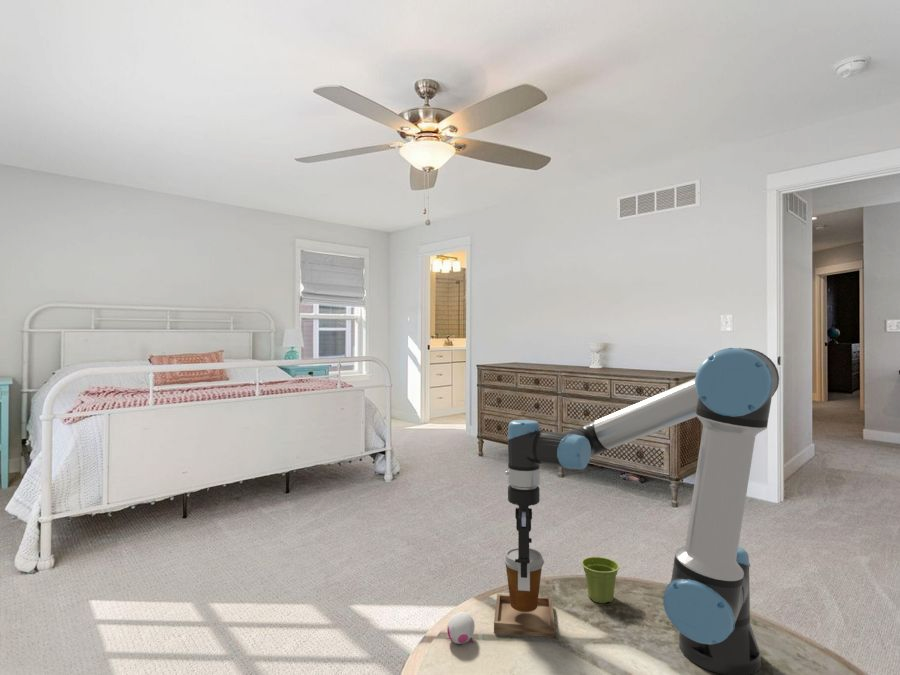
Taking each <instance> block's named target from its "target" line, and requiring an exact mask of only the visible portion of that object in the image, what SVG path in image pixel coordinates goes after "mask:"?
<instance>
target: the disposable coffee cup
mask: <svg viewBox="0 0 900 675" xmlns="http://www.w3.org/2000/svg"><path fill="white" fill-rule="evenodd" d="M515 559H518V547H514V548H509V549H508V550H507V551H505V556H504V557H503V561H504V562H503V563H504V564H505V567H506V577H507V585H508V593H509V595H510V604H511V607H512V608H513V609H515V610H517V611H521V612H530V611H534V610H535V609H536V608H537V603H538V597H539V595H540V594H539V592H540V585H541V577H542V568H543V565H544V563H545V560H544V558H543V555H542V553H541V552H540V551H539V550H536V549H533V548H530V547H529V559H530V591H521V590H518V562H515Z"/></svg>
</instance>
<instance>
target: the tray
mask: <svg viewBox="0 0 900 675" xmlns="http://www.w3.org/2000/svg"><path fill="white" fill-rule="evenodd" d="M494 608H495V611H494V618H493V620H494V621H493V633H495V634H496V633H497V634H507V635H509V634H510V635H520V636H521V635H522V636H532V637H533V636H534V637H546V638H556V624H555V616H554V605H553V598H552V597H549V596H548V597H547V596H538V603H537V608H536V609H535V610H534V611H530V612H521V611H517V610H515V609H513V608H512V607H511V604H510V595H509V594H506V593H497V594H496V601H495V607H494Z"/></svg>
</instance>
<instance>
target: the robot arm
mask: <svg viewBox="0 0 900 675" xmlns="http://www.w3.org/2000/svg"><path fill="white" fill-rule="evenodd" d="M779 374H780V373H779V371H778V368H777V366H776V364H775V363H774V362H773V361H772V359H771V358H770V357H768V356H767V355H766V354H765V353H763V352H761V351H758V350H756V349H751V348H742V347H729V348H724V349H720V350H718V351H715V352H713V353H712V354H710V355H709V356H708V357H707V358H705V359H704V360H703V361H702V362H701V364H700V365H699V367H698V369H697V372H696V374H695V377H694V378H692V379H690V380H688V381H686V382H683V383H681V384H678V385H675V386H674V387H671V388H669V389H666V390H664V391H662V392H659V393H657V394H655V395H653V396H650V397H648V398H645V399H643V400H641V401H638V402H636V403H634V404H631V405H629V406H626V407H623V408H622V409H619V410H617V411H614V412H612V413H609V414H607V415H605V416H603V417H601V418H599V419H596V420H594V421H591V422H588V423H586V424H584V425H581V426H579V427H576V428H573V429H569V430H566V431H562V432H553V431H544V430H541V428H540V423H539V422H538V421H536V420H532V419H514V420H512V421H510V422H509V423H508V428H507V429H508V430H507V437H506V438H507V439H506V440H507V462H508V463H507V470H506V471H505V472H504V473H505V475H506V476H507V483H508V486H507V500H508V502H509V503H510V504H512V505H516V506H518V507H515V511H514V512H515V513H514V514H515V520H516V521H515V522H516V526H515V528H516V531H517V532H518V536H517V537H518V540H517V541H518V542H517V543H518V544H517V546H518V547H517V548H518V559H515V562H518V590H521V591H530V559H529V548H530V544H531V543H533V541H532V539H533V538H532V537H530V532H531V531H532V520H533V508H532V507H530V506H536V505H537V504H539V503H540V496H541V495H540V487H539V485H540V483H541V481H540V480H541V477H540V476H541V474H540V471H541V470H540V464H541V465H546V466H548V465H549V466H553V467H559V468H565V469H568V470H584V469H586V467H587V466H588V464H589V463H590V460H591V458H592V457H594V456H597V455H599V454H601V453H604V452H607V451H609V450H612V449H614V448H617V447H620V446H622V445H625V444H628V443H630V442H633V441H635V440H638V439H641V438H643V437H646V436H649V435H652V434H654V433H657V432H659V431H662V430H664V429H665V430H666V429H668V428H670V427H673V426H675V425H679V424H681V423H684V422H687V421H689V420H692V419H694V418H697V419H698V420H699V421H700V423H701V425H702V432H701V437H700V444H699V445H700V446H699V452H698V458H697V465H696V471H695V478H694V485H693V492H692V498H691V506H690V511H689V517H688V518H689V520H688V525H687V531H686V539H685V544H684V545H683V546H681V547H679V548H677V549H676V551H675V553H674V561H673V564H672V565H673V567H672V572H671V573H672V574H671V578H670V582H669V583H668V584H667V585H666V586H665V589H664V592H663V598H662V600H663V602H662V605H663V610H664V611H665V614H666V617H667V619H668V620H670V622H671V623H672V625H673V627H674V628H675V629H676V630H677V631H678V632H679V633H678V644H679V650H680V652H681V653H682V654H683V656H684V657H686V658H687V659H688V660H689V661H691V662H692V663H693V664H695V665H697V666H699V667H700V668H703V669H704V670H707V671H710V672H713V673H715V674H719V675H750V674H752V675H755V674H756V673H758V672H759V671H760V669H761V666H762V661H761V660H762V658H761V657H762V656H761V650H760V647H759V644H758V641H757V638H756V635H755V633H754V630H753V627H752V625H751V600H750V598H751V597H750V596H751V594H750V586H751V585H750V567H751V563H750V558H749V553H748V551H747V550H746V549H744V548H743V547H742V546H739V544H740V538H741V532H742V525H743V520H744V519H743V518H744V512H745V508H746V507H745V506H746V505H745V504H746V500H747V494H748V486H749V480H750V473H751V469H752V468H751V467H752V462H753V461H752V460H753V455H754V447H755V442H756V436H757V435H758V434H759V433H762V432H763V431H765V430H766V429H768V423H769V417H770V411H771V404H772V399H773V397H774V395H775V394H776V393H777V392H776V391H777V390H778V387H779V385H780V375H779ZM529 507H530V508H529ZM757 671H758V672H757ZM754 673H755V674H754Z"/></svg>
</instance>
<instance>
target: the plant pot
mask: <svg viewBox="0 0 900 675" xmlns="http://www.w3.org/2000/svg"><path fill="white" fill-rule="evenodd" d="M581 566H582V567H583V571H584V575H585V579H586V580H585V581H586V588H587V595H588V598H589V599H591V600H592V601H593V602H594V603H595V602H596V603H600V604H606V603H608V602H609V603H612V602H613V600H614V594H615V586H616V577H617V575H618V571H619V570H620V564H619V563H618V562H616V561H614V560H613V559H611V558H608V557H601V556H589V557H586V558H584V559H582V560H581Z"/></svg>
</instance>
